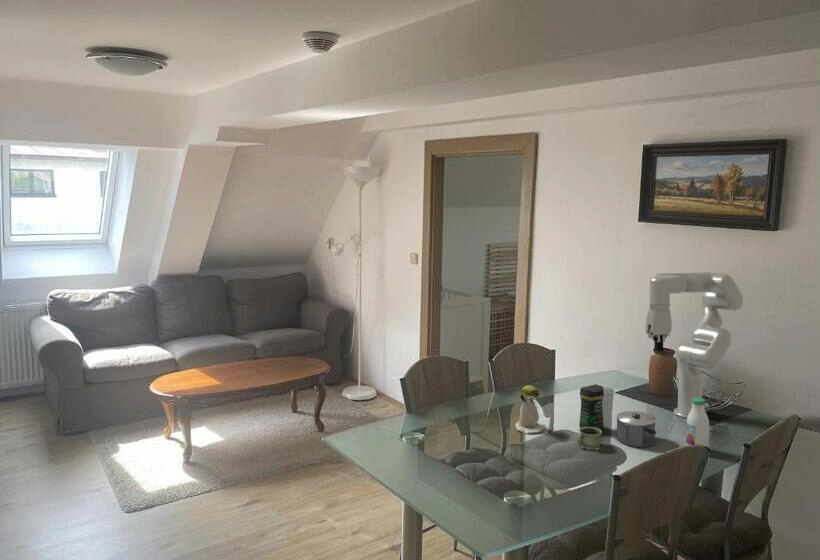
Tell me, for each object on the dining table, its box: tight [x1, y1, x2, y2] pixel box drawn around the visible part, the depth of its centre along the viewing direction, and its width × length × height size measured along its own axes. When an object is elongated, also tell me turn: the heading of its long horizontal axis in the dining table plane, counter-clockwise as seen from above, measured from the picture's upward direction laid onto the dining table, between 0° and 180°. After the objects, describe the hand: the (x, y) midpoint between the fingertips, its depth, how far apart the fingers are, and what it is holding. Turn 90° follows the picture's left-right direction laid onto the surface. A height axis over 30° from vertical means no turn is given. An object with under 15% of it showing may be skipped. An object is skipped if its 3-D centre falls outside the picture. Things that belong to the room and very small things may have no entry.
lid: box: [616, 410, 657, 426], centre depth 245 cm, size 15×14×2 cm
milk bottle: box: [685, 398, 710, 448], centre depth 234 cm, size 8×8×20 cm
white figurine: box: [515, 385, 547, 434], centre depth 262 cm, size 12×13×18 cm
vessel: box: [577, 427, 604, 450], centre depth 242 cm, size 12×9×6 cm
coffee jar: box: [578, 383, 605, 431], centre depth 259 cm, size 10×8×19 cm
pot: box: [616, 419, 657, 448], centre depth 246 cm, size 15×20×8 cm
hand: (658, 350), depth 257 cm, fingers closed
